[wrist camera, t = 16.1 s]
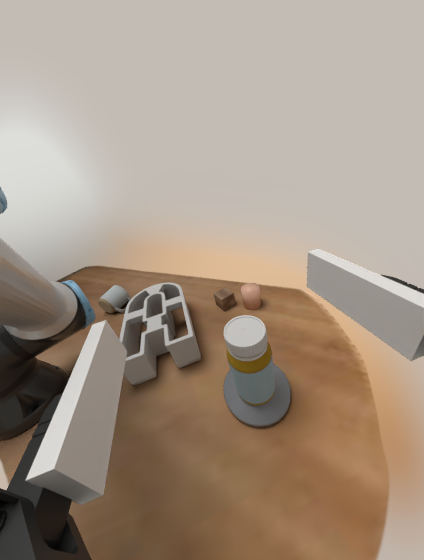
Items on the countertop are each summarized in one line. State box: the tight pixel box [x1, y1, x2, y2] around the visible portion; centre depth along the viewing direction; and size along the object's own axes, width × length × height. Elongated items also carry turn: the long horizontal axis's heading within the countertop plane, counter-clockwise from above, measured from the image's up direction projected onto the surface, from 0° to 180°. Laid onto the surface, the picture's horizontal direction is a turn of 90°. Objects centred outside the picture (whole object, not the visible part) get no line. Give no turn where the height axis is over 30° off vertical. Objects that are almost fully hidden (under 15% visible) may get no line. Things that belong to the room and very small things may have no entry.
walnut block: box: [214, 288, 236, 311], centre depth 59 cm, size 4×4×4 cm
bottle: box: [224, 315, 275, 406], centre depth 32 cm, size 7×7×15 cm
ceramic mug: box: [98, 285, 130, 313], centre depth 70 cm, size 11×8×8 cm
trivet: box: [224, 364, 291, 428], centre depth 36 cm, size 12×12×1 cm
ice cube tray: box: [119, 283, 201, 386], centre depth 53 cm, size 17×28×9 cm, turn 15°
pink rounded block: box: [241, 283, 261, 310], centre depth 55 cm, size 5×5×6 cm
